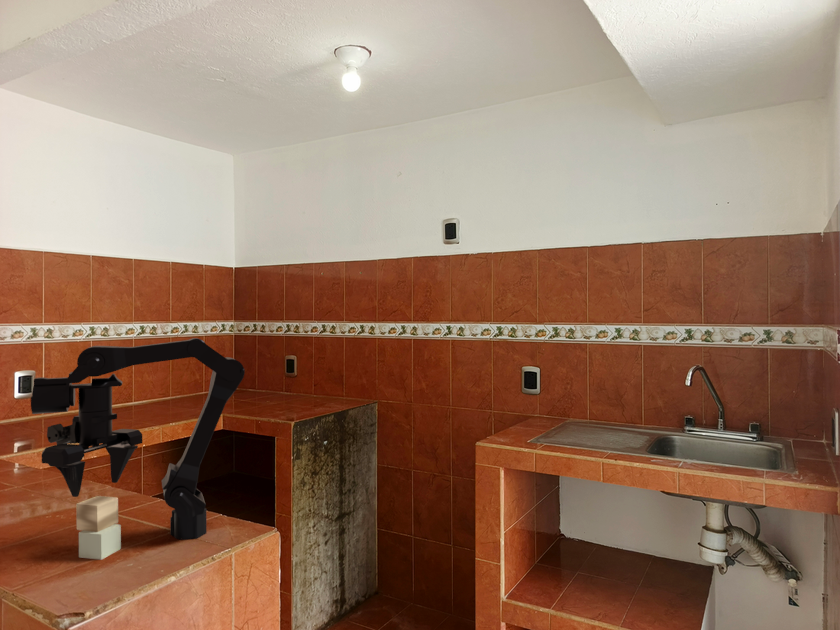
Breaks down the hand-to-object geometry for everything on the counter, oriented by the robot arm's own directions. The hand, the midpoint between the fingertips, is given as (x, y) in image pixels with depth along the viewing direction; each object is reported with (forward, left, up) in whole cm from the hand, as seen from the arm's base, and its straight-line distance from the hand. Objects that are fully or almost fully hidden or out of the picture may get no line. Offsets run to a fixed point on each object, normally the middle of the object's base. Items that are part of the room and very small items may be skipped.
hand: (95, 489), depth 110 cm
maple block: (-1, 0, -7) cm, 7 cm away
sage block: (-2, +1, -12) cm, 12 cm away
